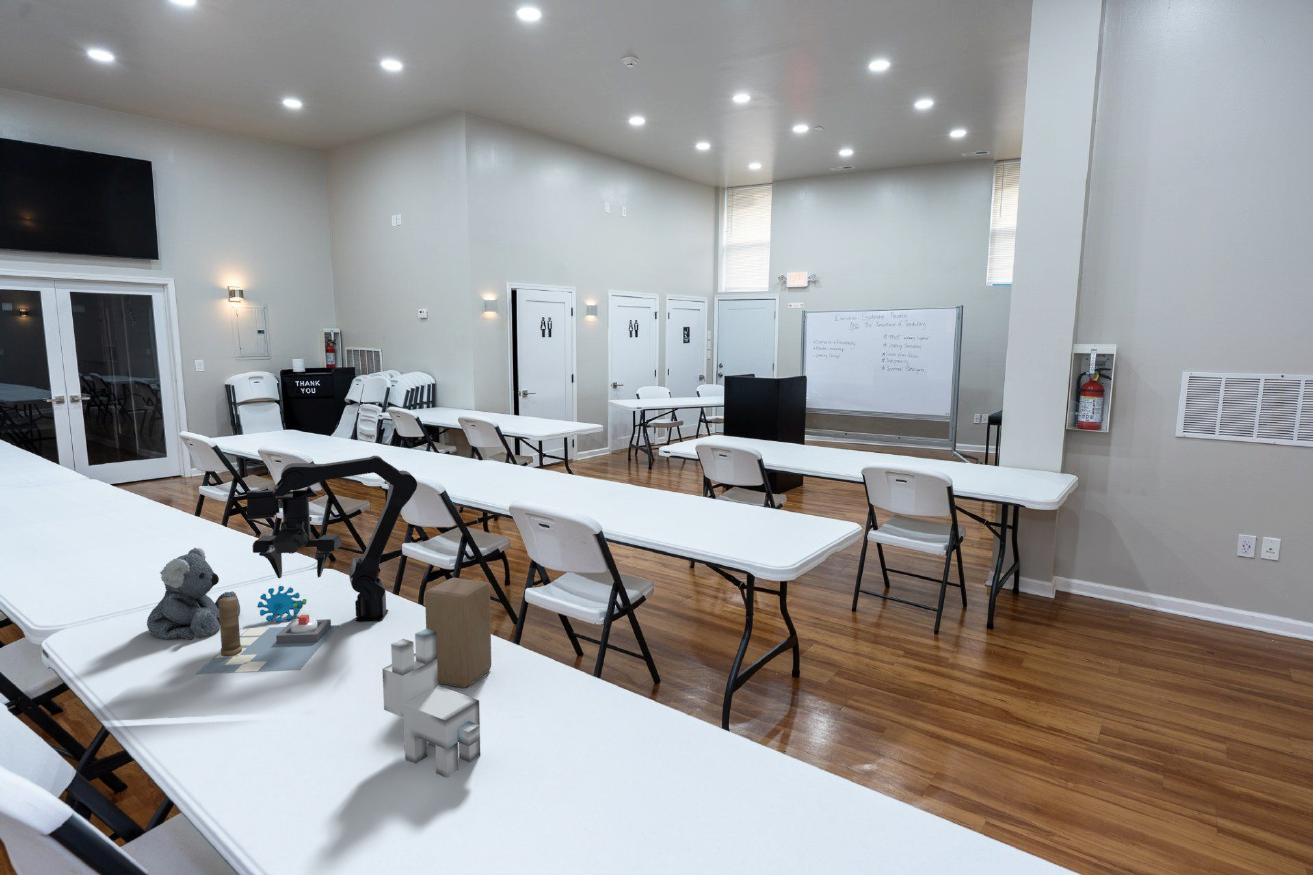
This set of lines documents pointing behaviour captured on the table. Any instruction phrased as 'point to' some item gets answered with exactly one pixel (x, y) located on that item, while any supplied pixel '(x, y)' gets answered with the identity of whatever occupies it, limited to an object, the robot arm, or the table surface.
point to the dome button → (304, 625)
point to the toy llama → (430, 706)
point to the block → (460, 629)
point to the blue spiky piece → (280, 604)
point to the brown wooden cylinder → (229, 626)
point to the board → (272, 649)
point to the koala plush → (187, 599)
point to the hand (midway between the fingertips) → (299, 577)
